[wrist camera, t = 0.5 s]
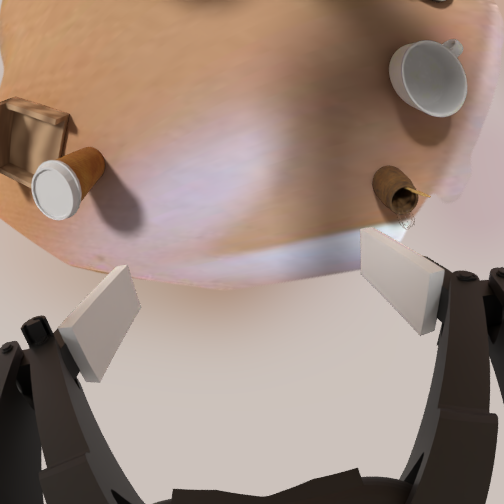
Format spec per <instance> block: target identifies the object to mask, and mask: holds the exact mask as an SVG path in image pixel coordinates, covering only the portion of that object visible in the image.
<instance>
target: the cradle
mask: <svg viewBox="0 0 504 504" xmlns="http://www.w3.org/2000/svg"><path fill="white" fill-rule="evenodd" d="M69 115H70V114H68V113H65V112H63V111H60V110H57V109H53V108H50V107H47V106H44V105H41V104H38V103H35V102H31V101H28V100H25V99H21V98H18V97H13V98H10V99H7V100H5V101H2V102H0V173H2V174H4V175H6V176H8V177H10V178H12V179H13V180H15V181H17V182H19V183H21V184H23V185H25V186H27V187H29V188H31V183H32V179H33V176H34V174H35V173H36V170H37V169H38V167H39V166H40V165H41V164H42V163H44V162H46V161H49V160H56V159H58V158H61V155H62V149H63V143H64V138H65V133H66V128H67V123H68V119H69ZM31 189H32V188H31Z"/></svg>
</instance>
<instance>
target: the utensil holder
mask: <svg viewBox="0 0 504 504" xmlns="http://www.w3.org/2000/svg"><path fill="white" fill-rule="evenodd" d="M373 189H374V191H375V193H376V195H377V196H378V197H379V199H380V200H381V201H382V203H383V204H384V205H385V206H386V207H388V208H389V209H390V210H391V211H393V212H394V213H396V214H399V215H404V214H407V213H409V212H411V211H412V210H413V209H414V208H415V206H416V205H417V202H418V194H419V195H422V196H426V197H431V196H429V195H427V194H425V193H423V192H420V191H417V190H416V188H415V187H414V186H413V184H412V182H411V180H410V179H409V178H408V177H407V176H406V175H405V174H404V173H403V172H402V171H401V170H399V169H398V168H396V167H393V166H385V167H382V168H381V169H379V170H378V171H377V172H376V174H375V175H374V178H373ZM411 213H412V212H411ZM399 215H398V216H399ZM409 215H410V213H409ZM412 215H413V214H412ZM404 216H405V215H404ZM410 216H411V215H410ZM413 217H414V216H413ZM397 218H398V217H397ZM399 218H401V217H399ZM405 218H406V217H405ZM411 218H412V217H411ZM400 220H401V219H400ZM406 220H407V219H406ZM412 220H413V219H411V221H412ZM398 221H399V220H398ZM401 222H402V221H401ZM407 222H408V221H407ZM399 223H400V222H399ZM402 224H404V223H403V222H402ZM408 224H409V223H408ZM400 225H401V224H400ZM404 225H405V224H404ZM404 225H403V226H404ZM410 227H411V226H410ZM410 227H409V226H408V228H410ZM403 228H405V227H403ZM405 229H406V228H405Z"/></svg>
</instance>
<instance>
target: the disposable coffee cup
mask: <svg viewBox="0 0 504 504" xmlns="http://www.w3.org/2000/svg"><path fill="white" fill-rule="evenodd" d="M104 169H105V162H104V158H103V156H102V155H101V153H100V152H99V151H98V150H97V149H95V148H92V147H86V148H83V149H81V150H78V151H75V152H73V153H70V154H68V155H65V156H63V157H61V158H58V159H56V160H49V161H46V162H44V163H42V164H41V165H40V166H39V167H38V169H37V170H36V173H35V174H34V176H33V179H32V183H31V188H32V195H33V199H34V201H35V203H36V205H37V207H38V208H39V209H40V211H41V212H42V213H43V214H44V215H46V216H47V217H49V218H51V219H54V220H63V219H66V218H69V217H72V216H73V215H74V214H75V213H76V212H77V210H78V208H79V206H80V203H81V201H82V200H83V199H84V197H85V196H86V195H87V193H88V192H89V191H90V189H91V188H92V187H93V186H94V184H95V183H96V182H97V181H98V179H99V178H100V177H101V176H102V174H103V173H104Z"/></svg>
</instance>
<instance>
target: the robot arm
mask: <svg viewBox="0 0 504 504" xmlns="http://www.w3.org/2000/svg"><path fill="white" fill-rule="evenodd" d="M360 244H361V275H362V276H363V277H364V278H365V279H366V280H367V281H368V282H369V283H370V284H371V285H372V286H373V287H374V288H375V289H376V290H377V291H378V292H379V293H380V294H381V295H382V296H383V297H384V298H385V299H386V300H387V301H388V302H389V303H390V304H391V305H392V306H393V307H394V308H395V309H396V310H397V311H398V313H399V314H400V315H401V316H402V317H403V318H404V319H405V320H406V321H407V322H408V323H409V324H410V325H411V326H412V327H413V328H414V330H415V331H416V332H417V333H418V334H419V335H420V336H421V335H424V334H427V333H430V332H432V331H434V330H435V325H436V320H437V318H438V319H439V320H440V321H441V322H442V326H441V330H440V334H439V338H438V342H437V345H438V351H437V357H436V363H435V368H434V373H433V378H432V383H431V388H430V392H429V396H428V400H427V405H426V408H425V412H424V415H423V419H422V422H421V426H420V429H419V432H418V435H417V438H416V441H415V444H414V447H413V450H412V453H411V455H410V458H409V460H408V463H407V465H406V468H405V470H404V471H403V473H402V475H401V477H400V479H399V480H398V479H393V478H387V477H361V476H360V473H359V470H358V468H355V469H352V470H348V471H345V472H341V473H337V474H333V475H329V476H325V477H321V478H316V479H312V480H310V481H308V482H305V483H303V484H300V485H298V486H296V487H293V488H290V489H287V490H285V491H282V492H279V493H276V494H273V495H270V496H266V497H259V496H251V495H243V494H236V493H230V492H224V491H219V490H184V489H173V493H172V499H168V500H164V501H160V502H157V503H154V504H485V503H486V499H487V494H488V491H489V486H490V481H491V476H492V471H493V465H494V459H495V451H496V443H497V433H498V416H497V415H496V414H493V413H489V404H490V360H489V356H490V359H491V362H492V365H493V368H494V371H495V374H496V377H497V381H498V384H499V387H500V391H501V395H502V398H503V403H504V268H503V267H501V268H493V269H491V271H490V276H489V280H481V281H479V278H478V276H477V275H475V274H474V273H471V272H468V271H455V272H453V273H452V272H450V271H449V270H448V269H446V268H444V267H443V266H441V265H439V264H438V263H436V262H434V261H433V260H431V259H430V258H428V257H425V256H422V255H420V254H418V253H416V252H415V251H413V250H412V249H410V248H408V247H407V246H405V245H403V244H401V243H400V242H398V241H396V240H394V239H393V238H391V237H389V236H387V235H386V234H384V233H382V232H380V231H378V230H376V229H375V228H373V227H368V228H362V229H360ZM140 308H141V305H140V303H139V299H138V296H137V293H136V290H135V287H134V284H133V281H132V277H131V274H130V270H129V267H128V265H122V266H116V267H115V268H114V269H113V270H112V271H111V272H110V273H109V274H108V275H107V276H106V277H105V278H104V279H103V280H102V281H101V282H100V283H99V284H98V285H97V286H96V287H95V288H94V289H93V290H92V291H91V293H89V295H88V296H87V297H86V298H85V299H84V300H83V301H82V302H81V303H80V304H79V305H78V306H77V307H76V308H75V309H74V310H73V311H72V313H71V314H70V315H69V316H68V317H67V318H66V319H65V320H64V321H63V323H62V324H61V325H60V326H59V327H58V329H57V330H56V331H55V332H54V333H53V332H52V330H51V328H50V326H49V324H48V321H47V319H46V317H45V316H37V317H34V318H32V319H30V320H28V321H27V322H25V323H24V324H23V325H22V327H21V330H22V332H23V335H24V337H25V339H26V341H27V343H28V345H29V349H27V350H22V349H21V347H20V345H19V344H18V342H17V341H12V342H7V343H5V344H4V345H2V347H1V348H0V504H44V503H43V494H44V497H45V500H46V503H47V504H145V503H144V502H143V501H142V500H141V499H140V497H139V496H138V494H137V493H136V491H135V490H134V488H133V487H132V485H131V484H130V482H129V481H128V479H127V477H126V476H125V474H124V473H123V471H122V469H121V468H120V466H119V464H118V463H117V461H116V459H115V457H114V455H113V454H112V452H111V450H110V448H109V446H108V444H107V442H106V440H105V438H104V436H103V435H102V433H101V430H100V428H99V426H98V424H97V422H96V420H95V418H94V415H93V413H92V411H91V409H90V406H89V404H88V402H87V400H86V397H85V394H84V392H83V389H82V387H81V384H80V382H79V381H78V379H77V375H78V373H79V372H81V374H82V376H83V377H84V379H85V381H86V382H100V381H101V379H102V377H103V376H104V373H105V372H106V370H107V368H108V366H109V364H110V362H111V360H112V358H113V357H114V355H115V353H116V351H117V349H118V347H119V345H120V343H121V342H122V340H123V338H124V337H125V335H126V333H127V331H128V329H129V328H130V326H131V324H132V322H133V321H134V318H135V317H136V315H137V314H138V312H139V310H140ZM41 445H42V450H43V453H44V457H45V461H46V465H47V468H46V469H44V470H41Z"/></svg>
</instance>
